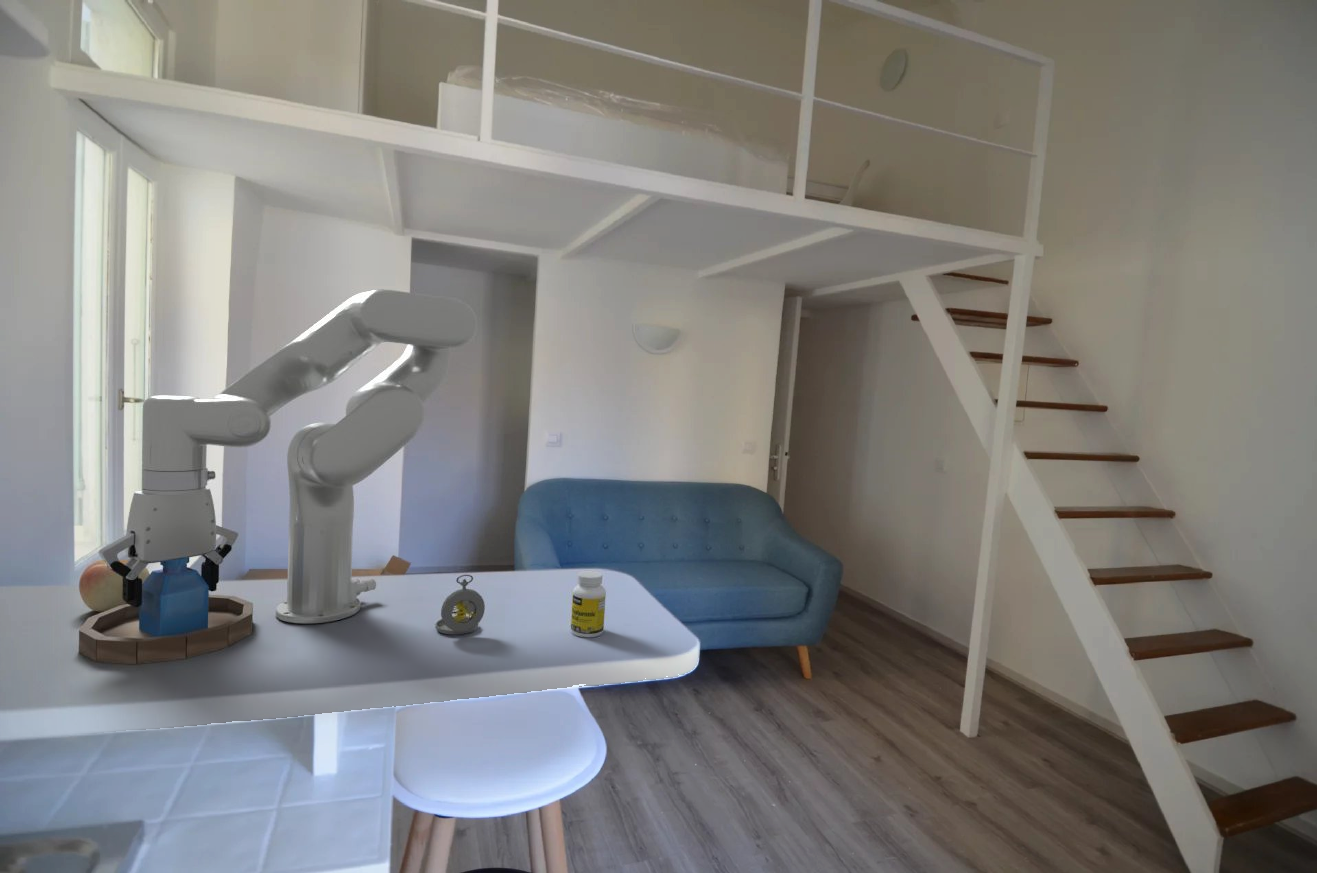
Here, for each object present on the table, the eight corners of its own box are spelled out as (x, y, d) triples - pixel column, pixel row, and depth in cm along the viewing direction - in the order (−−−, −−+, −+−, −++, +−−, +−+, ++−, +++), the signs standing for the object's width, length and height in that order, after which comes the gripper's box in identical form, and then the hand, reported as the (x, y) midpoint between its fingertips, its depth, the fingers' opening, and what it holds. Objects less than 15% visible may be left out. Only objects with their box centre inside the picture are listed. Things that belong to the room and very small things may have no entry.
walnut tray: (210, 604, 111) (210, 587, 111) (279, 632, 101) (279, 613, 101) (56, 639, 94) (56, 618, 93) (121, 676, 84) (121, 653, 83)
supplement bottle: (564, 634, 107) (567, 575, 107) (580, 624, 112) (583, 567, 112) (594, 640, 105) (597, 580, 105) (609, 630, 110) (612, 572, 110)
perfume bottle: (208, 627, 98) (209, 548, 98) (160, 639, 93) (161, 555, 92) (186, 618, 102) (187, 541, 101) (138, 629, 96) (140, 548, 95)
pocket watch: (455, 619, 111) (458, 560, 111) (495, 630, 108) (497, 569, 107) (418, 634, 104) (420, 571, 103) (459, 645, 100) (462, 580, 100)
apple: (68, 612, 104) (68, 561, 104) (132, 597, 112) (133, 551, 112) (98, 623, 100) (98, 571, 100) (162, 607, 108) (163, 559, 108)
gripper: (224, 473, 105) (222, 579, 106) (89, 483, 90) (88, 606, 91) (250, 479, 101) (248, 589, 103) (113, 489, 87) (112, 618, 88)
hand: (172, 596), depth 97 cm, fingers open, 9 cm apart
